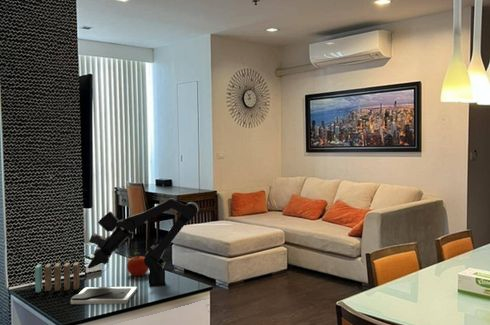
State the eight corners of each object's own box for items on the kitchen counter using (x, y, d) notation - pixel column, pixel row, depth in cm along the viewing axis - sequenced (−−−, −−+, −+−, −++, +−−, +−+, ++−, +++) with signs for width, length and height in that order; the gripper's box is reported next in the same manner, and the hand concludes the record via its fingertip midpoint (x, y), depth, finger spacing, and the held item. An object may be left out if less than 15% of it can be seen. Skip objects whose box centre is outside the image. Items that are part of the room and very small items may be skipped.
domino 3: (61, 287, 194) (60, 263, 193) (59, 290, 189) (58, 266, 188) (57, 287, 193) (56, 263, 193) (54, 291, 188) (54, 266, 188)
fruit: (130, 279, 204) (130, 256, 203) (124, 274, 212) (124, 252, 212) (152, 275, 209) (151, 253, 208) (145, 271, 217) (144, 249, 216)
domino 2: (51, 287, 193) (51, 263, 192) (49, 291, 188) (48, 266, 187) (47, 288, 192) (47, 263, 192) (45, 291, 188) (44, 266, 187)
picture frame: (70, 305, 173) (127, 305, 173) (70, 298, 173) (126, 297, 173) (85, 292, 189) (137, 292, 188) (85, 285, 188) (137, 285, 188)
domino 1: (42, 288, 192) (41, 264, 192) (39, 292, 187) (39, 267, 187) (38, 288, 192) (37, 264, 191) (35, 292, 187) (34, 267, 186)
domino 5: (79, 285, 195) (78, 261, 195) (77, 289, 190) (77, 265, 190) (75, 286, 195) (74, 262, 194) (73, 289, 190) (73, 265, 189)
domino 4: (70, 286, 194) (69, 262, 194) (68, 290, 189) (67, 265, 189) (66, 286, 194) (65, 262, 194) (64, 290, 189) (63, 265, 189)
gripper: (103, 222, 203) (76, 249, 201) (99, 230, 184) (69, 260, 183) (122, 240, 205) (96, 266, 203) (120, 249, 186) (91, 279, 185)
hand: (88, 267), depth 193 cm, fingers closed
